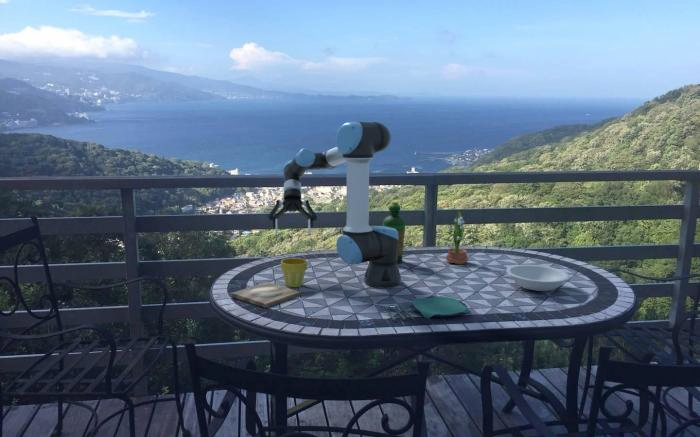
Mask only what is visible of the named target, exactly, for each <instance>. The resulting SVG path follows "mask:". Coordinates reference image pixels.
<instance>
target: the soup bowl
mask: <svg viewBox="0 0 700 437" xmlns="http://www.w3.org/2000/svg"><path fill="white" fill-rule="evenodd" d="M506 273H507V274H508V275H510V277H511V279H512V280H513V282H514V283H515V284H516V285H518V286H519V287H521V288H524V289H527V290H531V291H537V292H538V291H539V292H547V291H548V292H549V291H553V290H555V289H557V288H559V287H560V286H562V285H563V283H564V282H566V281H569V279H570V274H569V273H567V271H563V270H561V269H558V268H556V267H551V266H545V265H541V264H540V265H539V264H538V265H537V264H517V265H511V266H509V267H507V268H506Z"/></svg>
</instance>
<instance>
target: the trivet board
mask: <svg viewBox="0 0 700 437" xmlns="http://www.w3.org/2000/svg"><path fill="white" fill-rule="evenodd" d="M300 296H301V291H300V290H297V289H296V290H295V289H293V288H291V287H287V286H282V285H279V284H275V283H272V282H268V281H266V282H263V283H260V284H257V285H253V286H251V287H247V288H243V289H240V290H236V291H234V292H231V298H234V299H237V300H240V301H243V302H246V303H249V304H253V305H256V306H259V307H262V308H265V309H266V308H269V307H272V306H274V305H277V304H281V303H282V302H286V301H288V300H292V299H294V298H297V297H300Z"/></svg>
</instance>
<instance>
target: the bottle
mask: <svg viewBox="0 0 700 437" xmlns="http://www.w3.org/2000/svg"><path fill="white" fill-rule="evenodd" d="M388 211H389V215H388V216H386V217H385V218H384V219H383V221H382V226H384V227H390V228H394V229H396V230H397V231H398V239H399V240H398V260H397V264H400V263H401V262H403V253H404V246H405V245H404V244H405V234H406V233H405V232H406V220H405V218H403V217H402V216H400V211H401V206H400V204H399V202H398V201H391V204H389V205H388Z"/></svg>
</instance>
